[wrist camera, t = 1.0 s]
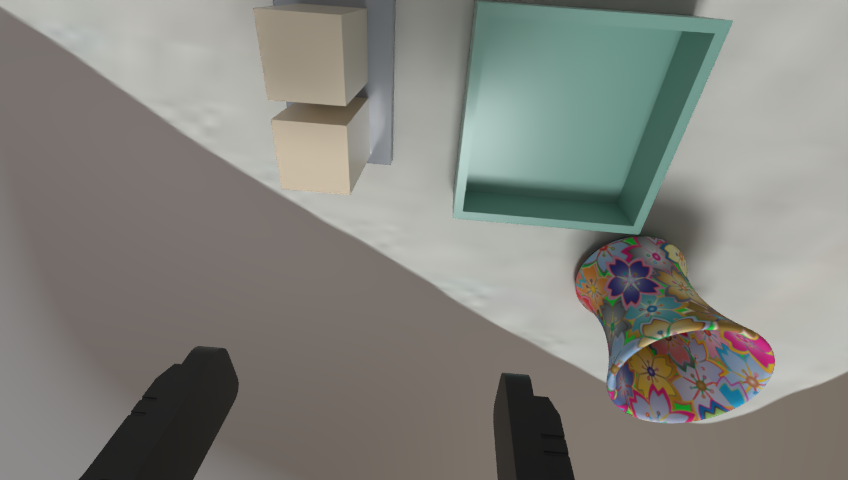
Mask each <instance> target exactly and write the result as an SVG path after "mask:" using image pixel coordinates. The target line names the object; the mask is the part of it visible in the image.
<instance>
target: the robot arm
mask: <svg viewBox="0 0 848 480" xmlns="http://www.w3.org/2000/svg"><path fill="white" fill-rule="evenodd" d="M238 385H239V382H238V378H237V375H236V372H235V370H234V367H233V365H232V362H231V359H230V357H229V354H228V352H227V350H226V349H224V348H215V347H203V346H198V347H195V348H194V349H193V350H192V351H191V352H190V353H189V355H188V356H187V357H186V359H185V360H184V362H183V363H182V364H174V365H172V366H171V367H170V368H169V369H167V370H166V371H165V372H164V373H162V374H161V375H160V376H159V377H158V378H156V379H155V380H154V382H153V383H152V385H151V386H150V387H149V388H148V390H147V391H146V392H145V394H144V395H143V396H142V397H143V398H142V400H140V401H139V402H138V403H137V404H136V406H135V407H134V408H133V410H132V411H131V415H128V416H127V418H126V419H125V420H124V422H123V423H122V424H121V425H120V427H119V428H118V430H117V431H116V432H115V434H114V435H113V436H112V437H111V439H110V440H109V441H108V443H107V444H106V445H105V447H104V448H103V450H102V451H101V452H100V453H99V455H98V456H97V457H96V459H95V460H94V461H93V463H92V464H91V465H90V467H89V468H88V469H87V470H86V472H85V473H84V474H83V475H82V477H81V478H80V479H79V480H193V479H194V477H195V475H196V473H197V471H198V469H199V467H200V466H201V464H202V462H203V460H204V458H205V456H206V454H207V452H208V450H209V449H210V447H211V445H212V443H213V441H214V439H215V437H216V435H217V433H218V432H219V430H220V428H221V426H222V424H223V422H224V420H225V418H226V416H227V415H228V413H229V411H230V409H231V407H232V405H233V403H234V401H235V399H236V396H237V393H238ZM493 419H494V421H493V423H494V437H495V450H496V462H497V474H498V480H575V479H574V475H573V470H572V466H571V462H570V458H569V456H568V448H567V444H566V440H565V439H564V432H563V428H562V423H561V418H560V415H559V413H558V412H557V410H556V409H555V408H554V406H553V404H552V402H551V401H550V400H549V398H548V397H540V396H534V395H533V389H532V384H531V380H530V377H529V375H524V374H511V373H502V374H501V378H500V382H499V386H498V390H497V395H496V399H495V403H494V414H493Z"/></svg>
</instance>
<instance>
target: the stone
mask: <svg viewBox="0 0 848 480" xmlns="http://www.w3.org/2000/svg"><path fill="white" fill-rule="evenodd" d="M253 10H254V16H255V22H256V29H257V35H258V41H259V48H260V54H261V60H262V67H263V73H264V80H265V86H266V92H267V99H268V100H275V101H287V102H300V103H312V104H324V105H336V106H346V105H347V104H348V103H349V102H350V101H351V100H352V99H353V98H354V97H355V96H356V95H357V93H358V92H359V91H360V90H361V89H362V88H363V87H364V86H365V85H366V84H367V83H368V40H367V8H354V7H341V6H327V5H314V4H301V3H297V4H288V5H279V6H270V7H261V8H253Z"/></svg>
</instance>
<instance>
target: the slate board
mask: <svg viewBox="0 0 848 480" xmlns="http://www.w3.org/2000/svg"><path fill="white" fill-rule="evenodd" d="M297 3H301V4H314V5H327V6H341V7H354V8H367V40H368V83H367V84H366V85H365V86H364V87H363V88H362V89H361V90H360V91H359V92H358V93H357V95H356V96H355V97H362V98H369V152H370V157H369V159H368V161H367V163H373V164H384V165H391V163H392V160H393V101H394V41H395V0H273V5H274V6H279V5H288V4H297ZM286 103H287V108H288V107H289V106H290V105H292V104H293V103H295V102H287V101H286Z"/></svg>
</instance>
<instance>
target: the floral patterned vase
mask: <svg viewBox="0 0 848 480" xmlns="http://www.w3.org/2000/svg"><path fill="white" fill-rule="evenodd" d="M576 294H577V297H578V299H579V301H580V302H581V303H582V305H583V306H584V307H585V308H586V309H588V310H589V311H590V312H592V313H594V314H595V316H596V317H597V318H598V320H599V321H600V323H601V325H602V327H603V329H604V332H605V335H606V338H607V343H608V350H609V368H608V375H607V390H608V393H609V396H610V398H611V400H612V401H613V402H614V404H615V405H616V406H617V407H618V408H620V409H621V410H622V411H624V412H625V413H627V414H629V415H631V416H633V417H636V418H639V419H642V420H646V421H652V422H659V423H683V422H692V421H698V420H703V419H707V418H711V417H714V416H717V415H720V414H723V413H725V412H728V411H730V410H732V409H735V408H736V407H738V406H740V405H742V404H744V403H745V402H747V401H748V400H750V399H751V398H753V397H754V396H755V395H756V394H757V393H759V392H760V391H761V390H762V389H763V387H764V386H765V385H766V384H767V382H768V381H769V379H770V377H771V375H772V373H773V370H774V366H775V358H774V353H773V351H772V348H771V347H770V345H769V344H768V343H767V341H766V340H765V339H764V338H763V337H761V336H760V335H759V334H757V333H755V332H754V331H752V330H750V329H748V328H746V327H743V326H741V325H739V324H737V323H735V322H733V321H732V320H730V319H728V318H726V317H725V316H723V315H721V314H720V313H718V312H717V311H716V310H714V309H713V308H712V307H710V306H709V305H708V304H707V303H706V302H705V301H703V300H702V299H701V298H700V297H699V295H698V294H697V293H696V292H695V291H694V289H693V288H692V286H691V284H690V283H689V280H688V278H687V266H686V262H685V259H684V257H683V255H682V253H681V252H680V251H679V250H678V249H677V248H676V247H675V246H674V245H672V244H670V243H669V242H667V241H665V240H662V239H659V238H655V237H647V236H637V237H629V238H624V239H620V240H617V241H614V242H611V243H609V244H607V245H605V246H603V247H601V248H600V249H598V250H597V251H596V252H594V253H593V254H592V255H591V256H590V257H589V258H588V259H587V260H586V261H585V262H584V264H583V265H582V266H581V268H580V270H579V272H578V274H577V277H576Z"/></svg>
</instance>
